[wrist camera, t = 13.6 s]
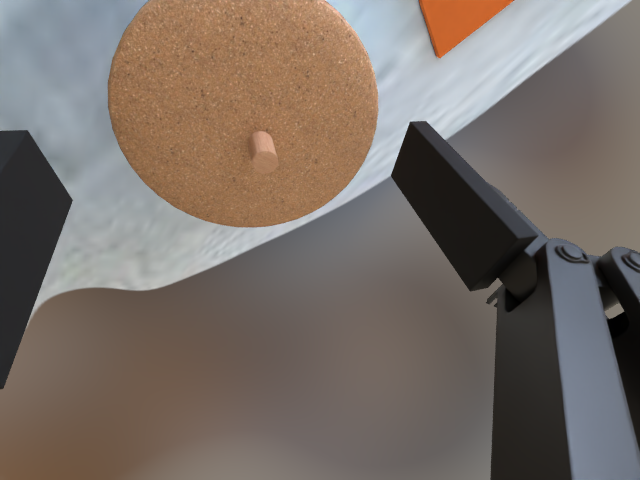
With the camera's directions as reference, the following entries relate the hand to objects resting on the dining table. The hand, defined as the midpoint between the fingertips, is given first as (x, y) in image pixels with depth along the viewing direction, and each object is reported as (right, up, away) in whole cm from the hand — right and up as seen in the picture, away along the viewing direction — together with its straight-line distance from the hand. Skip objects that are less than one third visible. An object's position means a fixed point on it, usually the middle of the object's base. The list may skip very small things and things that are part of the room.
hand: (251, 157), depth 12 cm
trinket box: (-2, +7, +6) cm, 9 cm away
